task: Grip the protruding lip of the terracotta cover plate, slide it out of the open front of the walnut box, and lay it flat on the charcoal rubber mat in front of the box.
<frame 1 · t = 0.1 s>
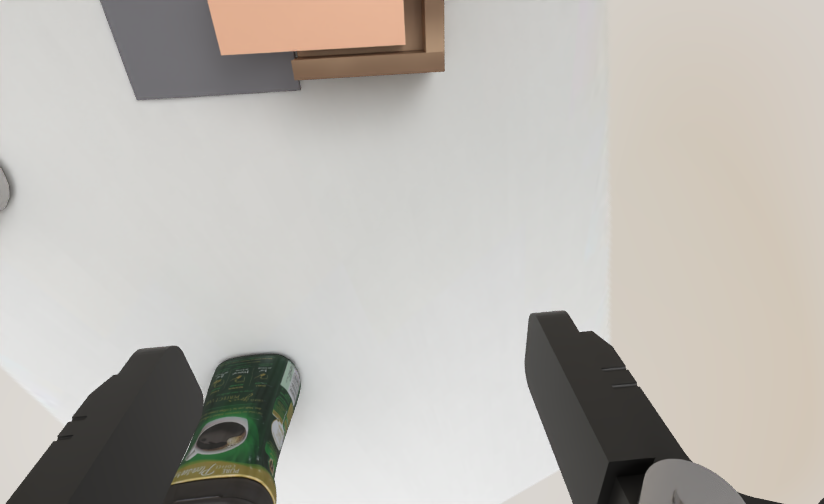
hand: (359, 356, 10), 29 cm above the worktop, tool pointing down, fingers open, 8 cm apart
cover plate: (311, 0, 27), point 4 cm above the worktop, touching walnut box
charcoal mat: (197, 8, 30), on the worktop
coffee jar: (262, 374, 50), on the worktop
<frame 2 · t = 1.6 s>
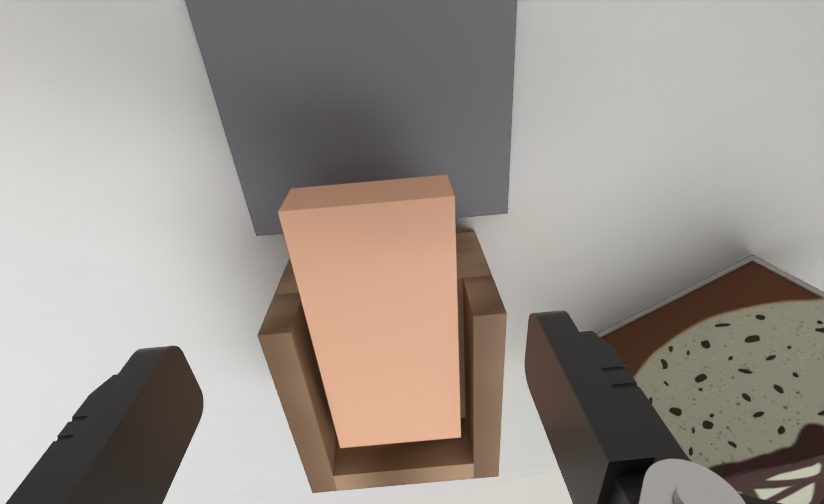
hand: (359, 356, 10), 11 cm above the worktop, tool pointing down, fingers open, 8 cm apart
walnut box: (394, 317, 23), on the worktop
cover plate: (387, 313, 18), point 4 cm above the worktop, touching walnut box
food container: (681, 328, 25), on the worktop
charcoal mat: (364, 76, 17), on the worktop
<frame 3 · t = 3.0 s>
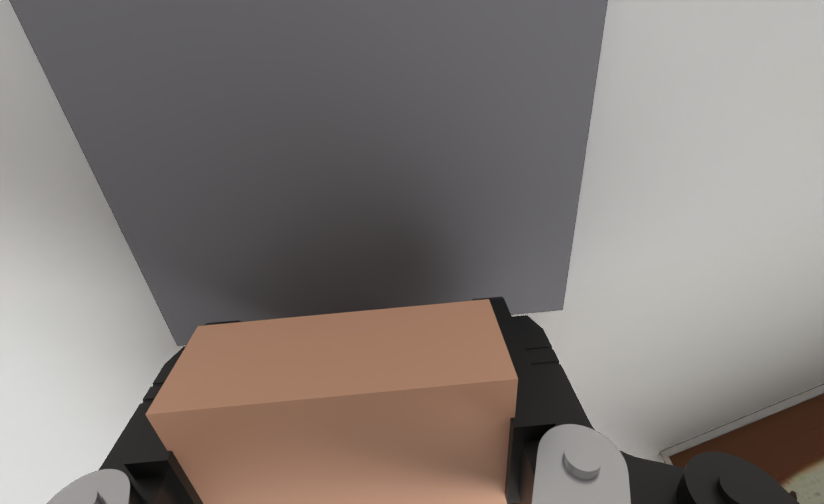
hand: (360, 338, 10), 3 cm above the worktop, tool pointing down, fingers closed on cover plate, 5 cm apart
cover plate: (379, 489, 11), point 4 cm above the worktop, touching gripper, walnut box
food container: (781, 438, 18), on the worktop
charcoal mat: (338, 108, 10), on the worktop
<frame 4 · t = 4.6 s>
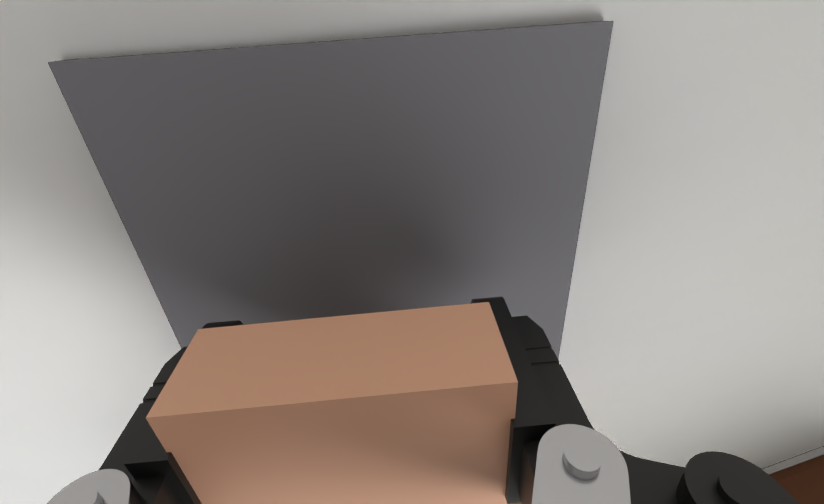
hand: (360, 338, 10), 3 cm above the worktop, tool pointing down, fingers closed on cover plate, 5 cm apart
cover plate: (379, 492, 11), point 4 cm above the worktop, touching gripper
charcoal mat: (369, 282, 12), on the worktop
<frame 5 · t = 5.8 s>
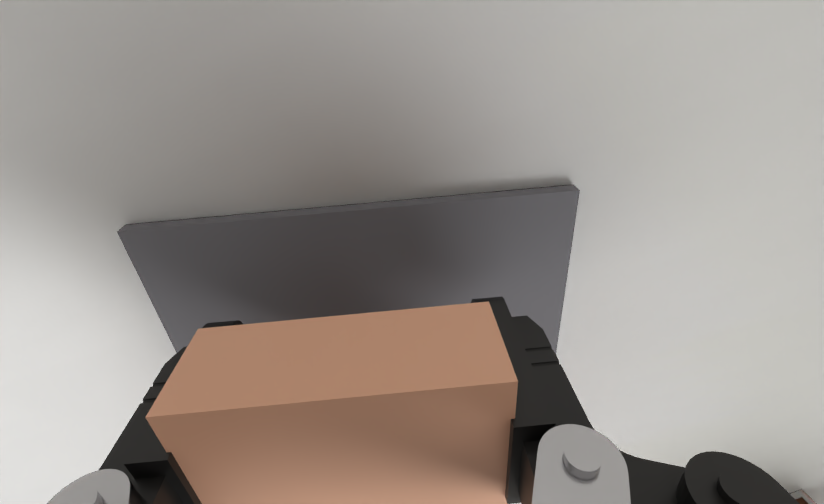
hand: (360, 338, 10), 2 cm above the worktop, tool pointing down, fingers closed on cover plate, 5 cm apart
cover plate: (379, 492, 11), point 4 cm above the worktop, touching gripper
charcoal mat: (378, 376, 14), on the worktop
when the fingers open (1 cm above the worktop, at t = 6.7 s): cover plate drops 3 cm, resting on charcoal mat.
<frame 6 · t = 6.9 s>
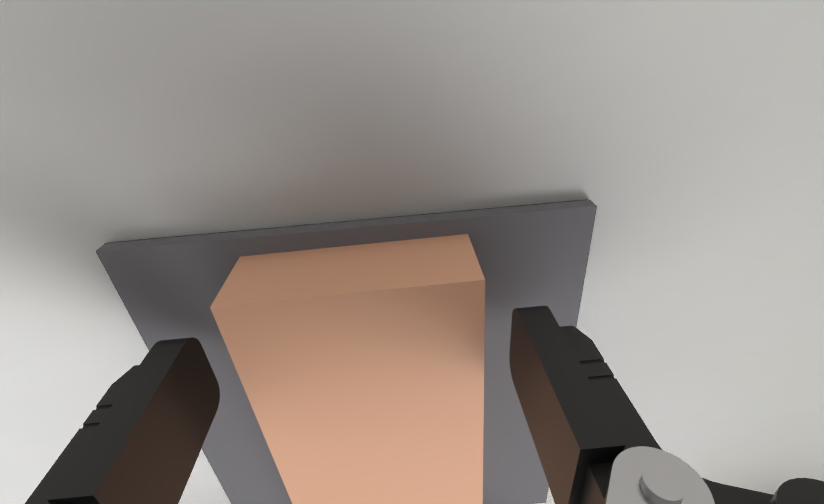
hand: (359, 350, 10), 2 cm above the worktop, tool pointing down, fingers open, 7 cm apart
cover plate: (382, 408, 13), resting on charcoal mat
charcoal mat: (379, 399, 13), on the worktop
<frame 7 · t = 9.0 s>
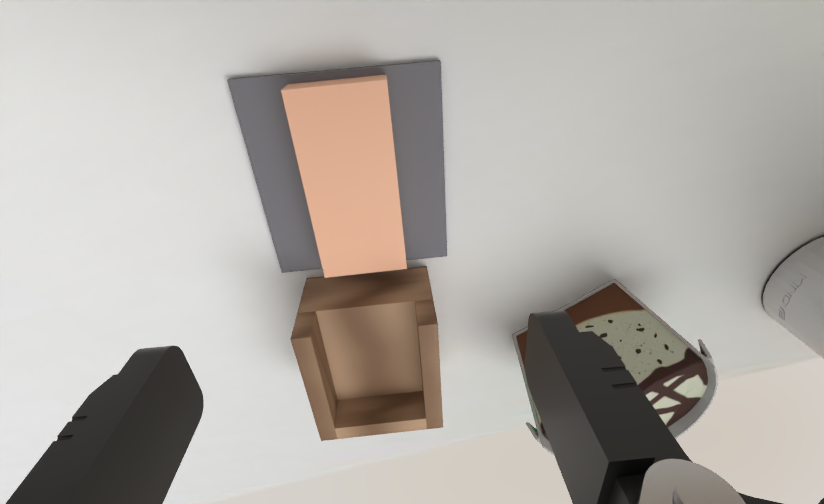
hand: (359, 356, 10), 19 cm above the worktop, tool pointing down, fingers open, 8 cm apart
walnut box: (374, 323, 33), on the worktop
cover plate: (353, 179, 26), resting on charcoal mat
food container: (575, 328, 35), on the worktop
charcoal mat: (352, 177, 27), on the worktop
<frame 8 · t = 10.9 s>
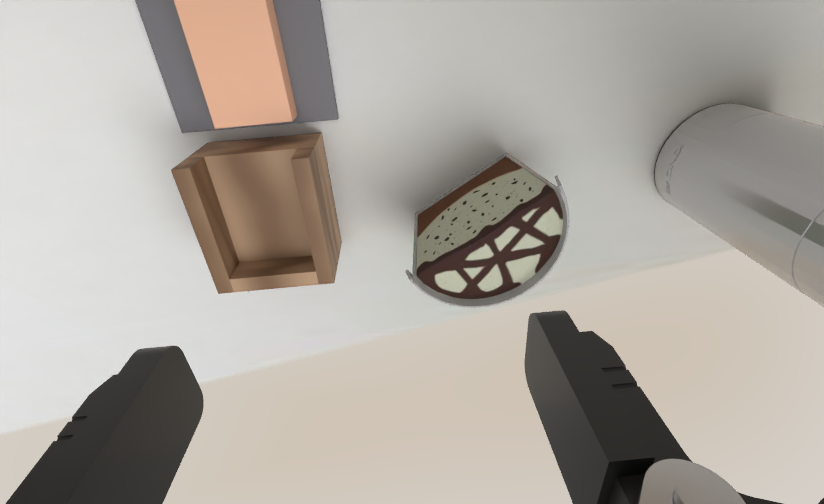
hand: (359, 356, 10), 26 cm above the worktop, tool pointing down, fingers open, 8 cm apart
walnut box: (279, 196, 35), on the worktop
cover plate: (237, 29, 28), resting on charcoal mat
food container: (476, 209, 37), on the worktop
charcoal mat: (237, 30, 29), on the worktop
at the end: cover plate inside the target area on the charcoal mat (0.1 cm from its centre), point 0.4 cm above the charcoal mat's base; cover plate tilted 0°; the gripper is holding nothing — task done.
